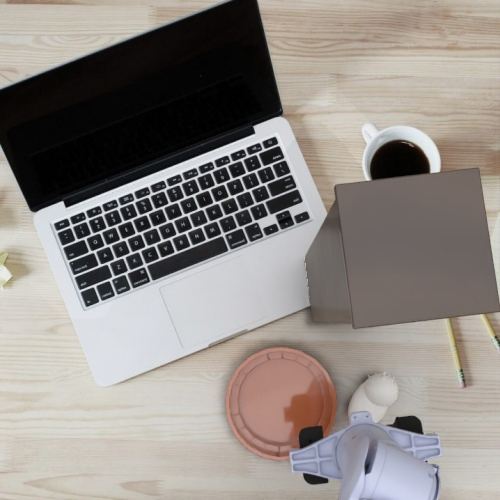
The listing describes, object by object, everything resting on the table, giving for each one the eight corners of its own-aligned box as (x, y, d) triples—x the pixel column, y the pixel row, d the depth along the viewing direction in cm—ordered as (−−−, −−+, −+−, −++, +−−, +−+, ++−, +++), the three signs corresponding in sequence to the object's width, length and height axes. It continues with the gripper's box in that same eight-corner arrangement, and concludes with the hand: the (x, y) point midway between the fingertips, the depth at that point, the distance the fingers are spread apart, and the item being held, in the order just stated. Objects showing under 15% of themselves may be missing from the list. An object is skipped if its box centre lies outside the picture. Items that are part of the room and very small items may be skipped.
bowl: (340, 448, 86) (343, 453, 83) (233, 460, 87) (232, 466, 83) (326, 340, 88) (329, 341, 84) (221, 352, 88) (219, 354, 84)
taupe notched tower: (379, 316, 88) (501, 312, 41) (309, 324, 88) (353, 329, 41) (370, 247, 89) (479, 166, 42) (301, 255, 89) (334, 184, 42)
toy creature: (403, 381, 87) (413, 386, 81) (367, 437, 86) (375, 446, 80) (371, 360, 87) (379, 363, 81) (335, 415, 87) (340, 422, 81)
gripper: (446, 409, 64) (416, 394, 78) (286, 427, 64) (283, 409, 78) (458, 489, 63) (425, 460, 77) (296, 507, 64) (291, 475, 77)
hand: (354, 439), depth 77 cm, fingers open, 7 cm apart
